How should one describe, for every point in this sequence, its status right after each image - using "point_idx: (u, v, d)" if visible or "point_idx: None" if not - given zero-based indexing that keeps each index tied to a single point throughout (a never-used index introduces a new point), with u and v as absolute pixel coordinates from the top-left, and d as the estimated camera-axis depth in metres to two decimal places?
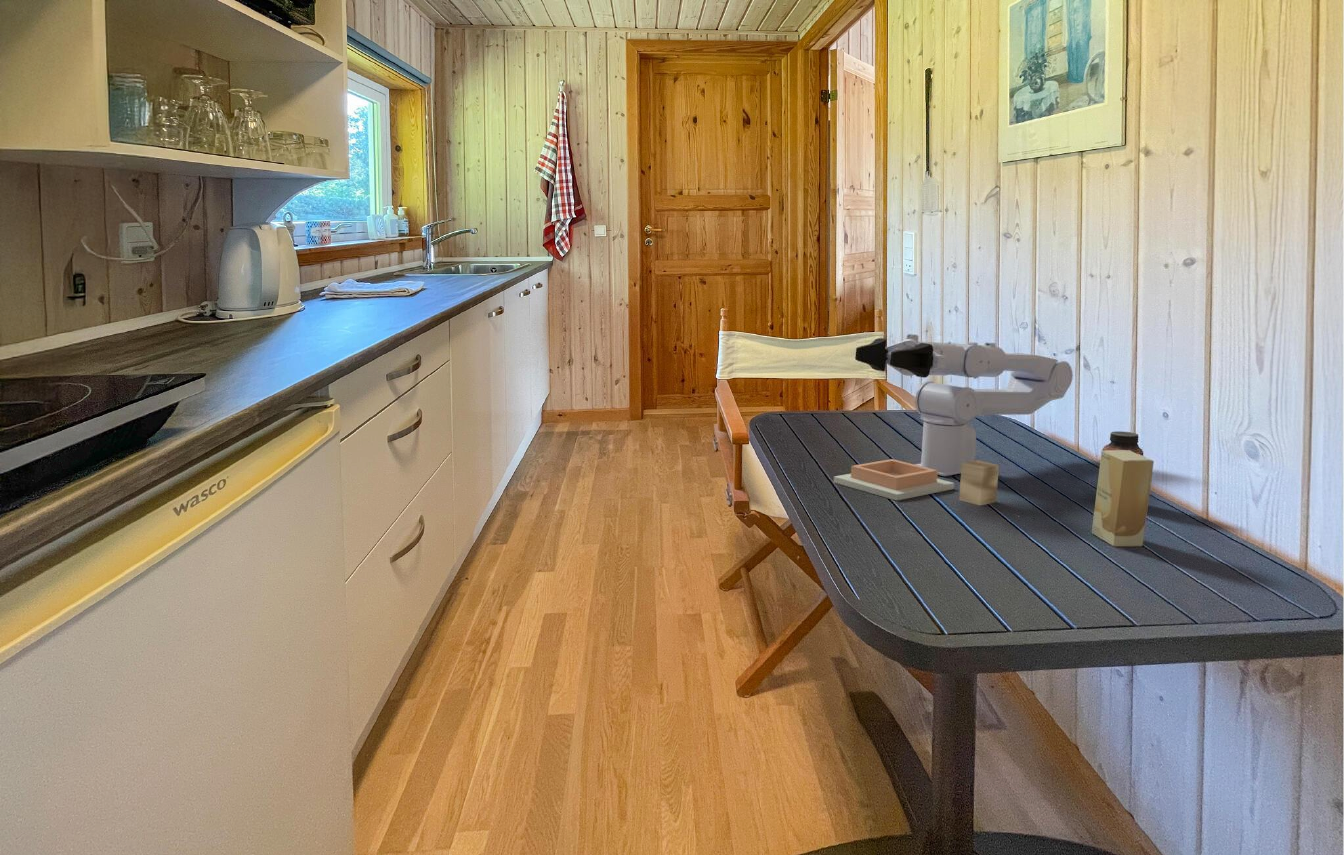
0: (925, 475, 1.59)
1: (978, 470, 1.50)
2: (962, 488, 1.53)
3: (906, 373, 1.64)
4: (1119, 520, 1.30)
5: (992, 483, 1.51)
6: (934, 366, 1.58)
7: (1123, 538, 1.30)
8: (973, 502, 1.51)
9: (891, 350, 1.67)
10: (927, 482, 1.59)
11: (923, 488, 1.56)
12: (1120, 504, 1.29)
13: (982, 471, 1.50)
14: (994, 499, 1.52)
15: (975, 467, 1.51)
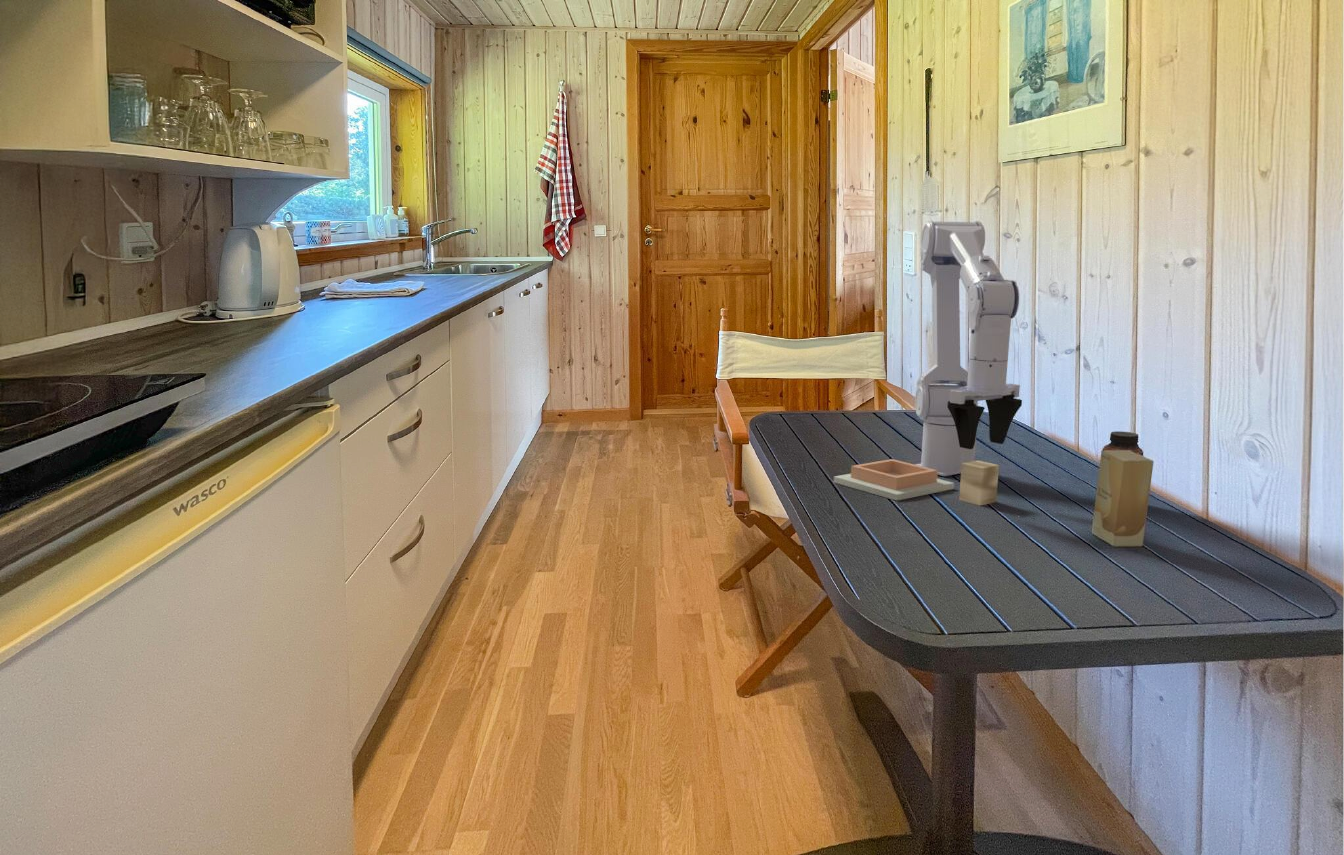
0: (925, 475, 1.59)
1: (978, 470, 1.50)
2: (962, 488, 1.53)
3: None
4: (1119, 520, 1.30)
5: (992, 483, 1.51)
6: None
7: (1123, 538, 1.30)
8: (973, 502, 1.51)
9: None
10: (927, 482, 1.59)
11: (923, 488, 1.56)
12: (1120, 504, 1.29)
13: (982, 471, 1.50)
14: (994, 499, 1.52)
15: (975, 467, 1.51)
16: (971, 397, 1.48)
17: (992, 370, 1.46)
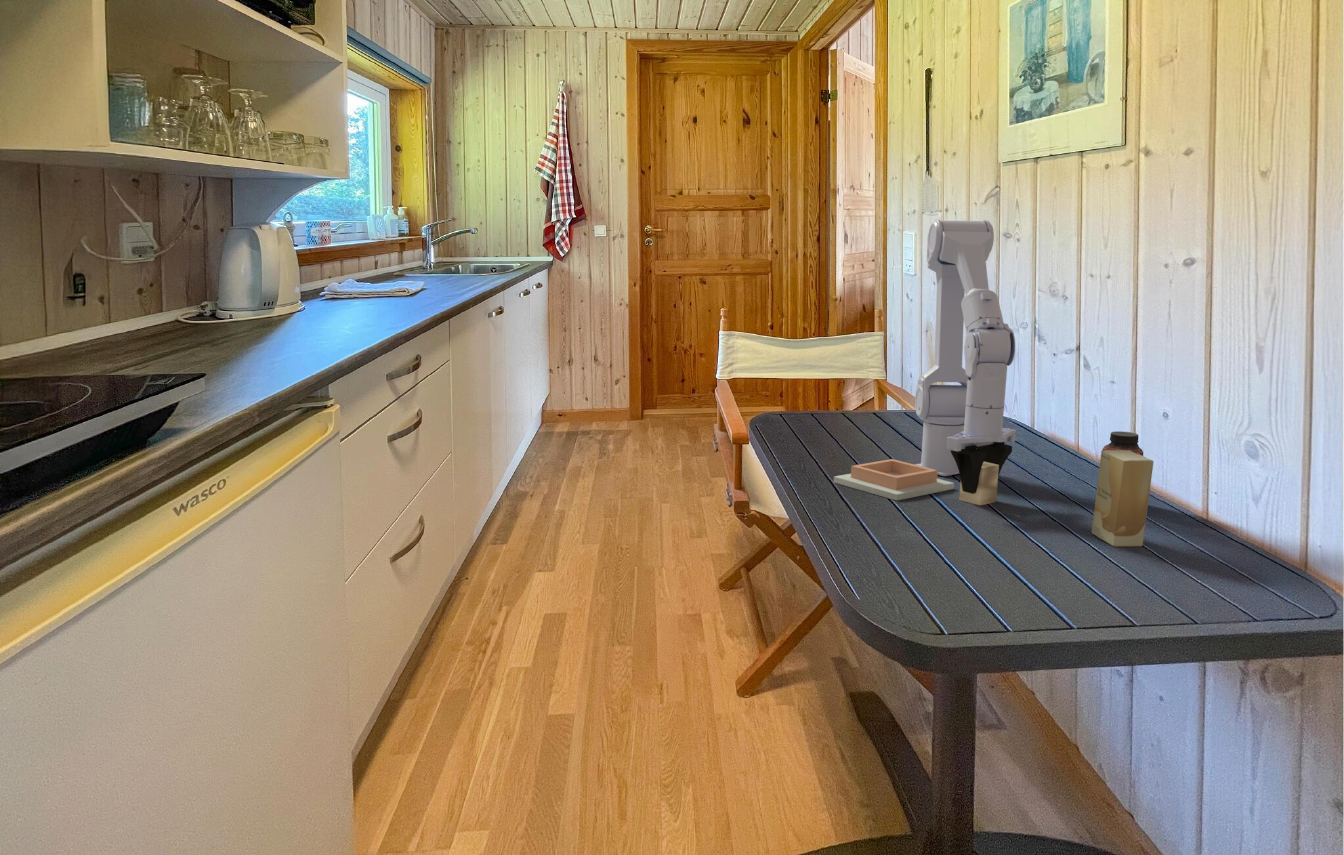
0: (925, 475, 1.59)
1: None
2: None
3: None
4: (1119, 520, 1.30)
5: (992, 483, 1.51)
6: None
7: (1123, 538, 1.30)
8: (973, 502, 1.51)
9: None
10: (927, 482, 1.59)
11: (923, 488, 1.56)
12: (1120, 504, 1.29)
13: (982, 471, 1.49)
14: (994, 499, 1.52)
15: None
16: (968, 443, 1.49)
17: (988, 417, 1.48)
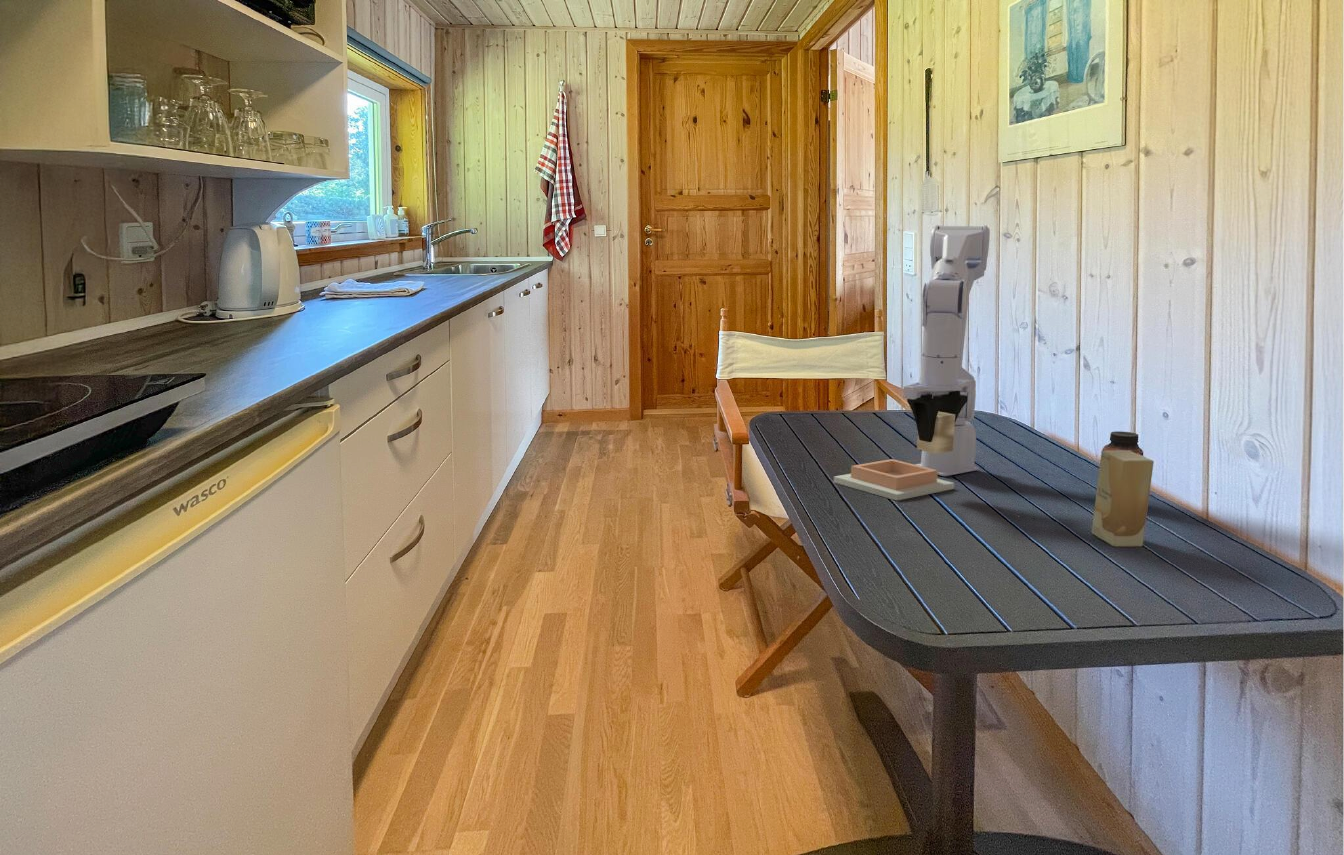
0: (925, 475, 1.59)
1: None
2: None
3: None
4: (1119, 520, 1.30)
5: (948, 432, 1.55)
6: None
7: (1123, 538, 1.30)
8: (930, 451, 1.55)
9: None
10: (927, 482, 1.59)
11: (923, 488, 1.56)
12: (1120, 504, 1.29)
13: (938, 419, 1.53)
14: (951, 448, 1.56)
15: None
16: (923, 392, 1.52)
17: (943, 367, 1.51)
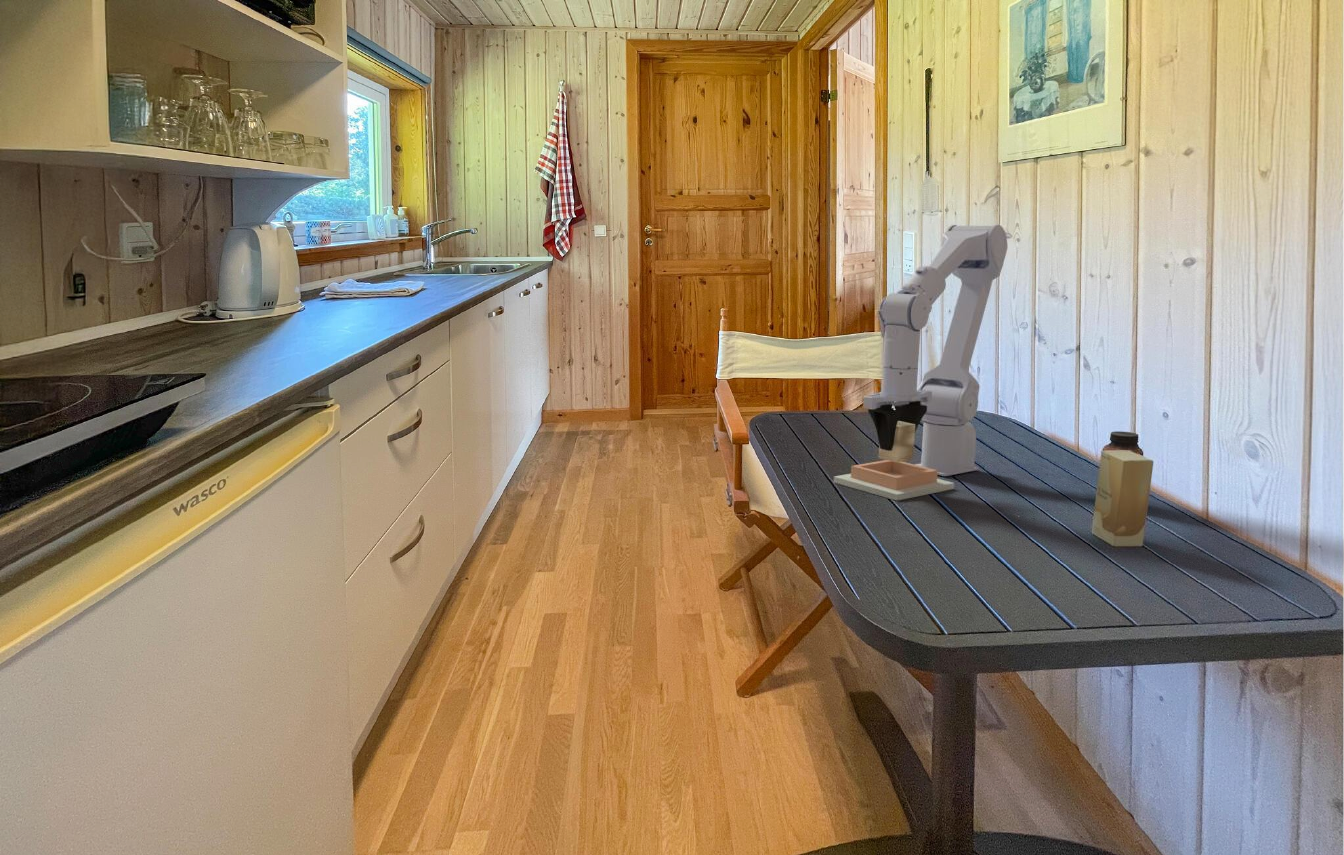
0: (925, 475, 1.59)
1: None
2: None
3: None
4: (1119, 520, 1.30)
5: (909, 441, 1.59)
6: None
7: (1123, 538, 1.30)
8: (891, 459, 1.59)
9: None
10: (927, 482, 1.59)
11: (923, 488, 1.56)
12: (1120, 504, 1.29)
13: (898, 429, 1.57)
14: (911, 457, 1.60)
15: None
16: (883, 403, 1.57)
17: (902, 378, 1.56)
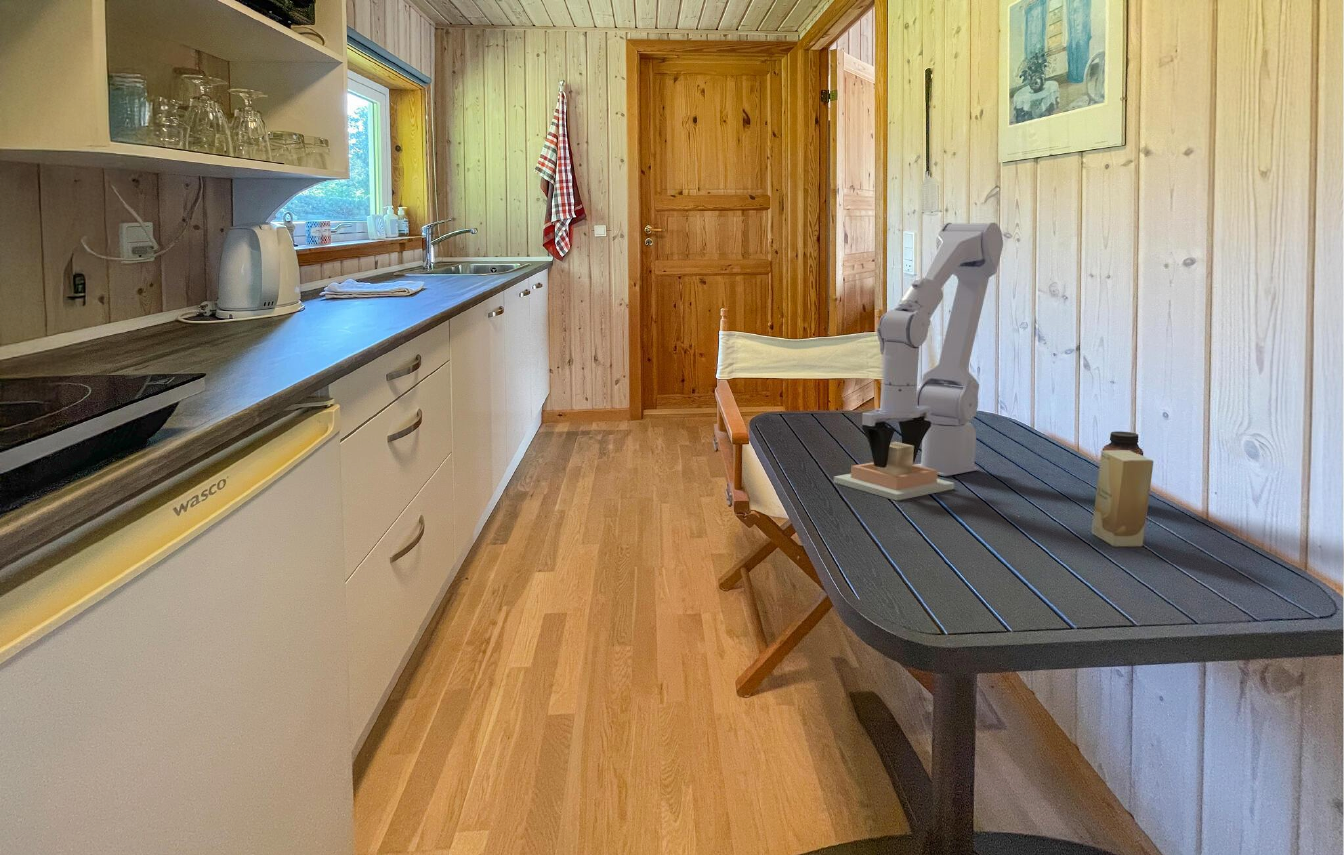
0: (925, 475, 1.59)
1: (893, 450, 1.59)
2: (880, 467, 1.61)
3: None
4: (1119, 520, 1.30)
5: (907, 463, 1.60)
6: None
7: (1123, 538, 1.30)
8: None
9: None
10: (927, 482, 1.59)
11: (923, 488, 1.56)
12: (1120, 504, 1.29)
13: (897, 451, 1.58)
14: None
15: (891, 447, 1.59)
16: (882, 419, 1.58)
17: (901, 394, 1.56)
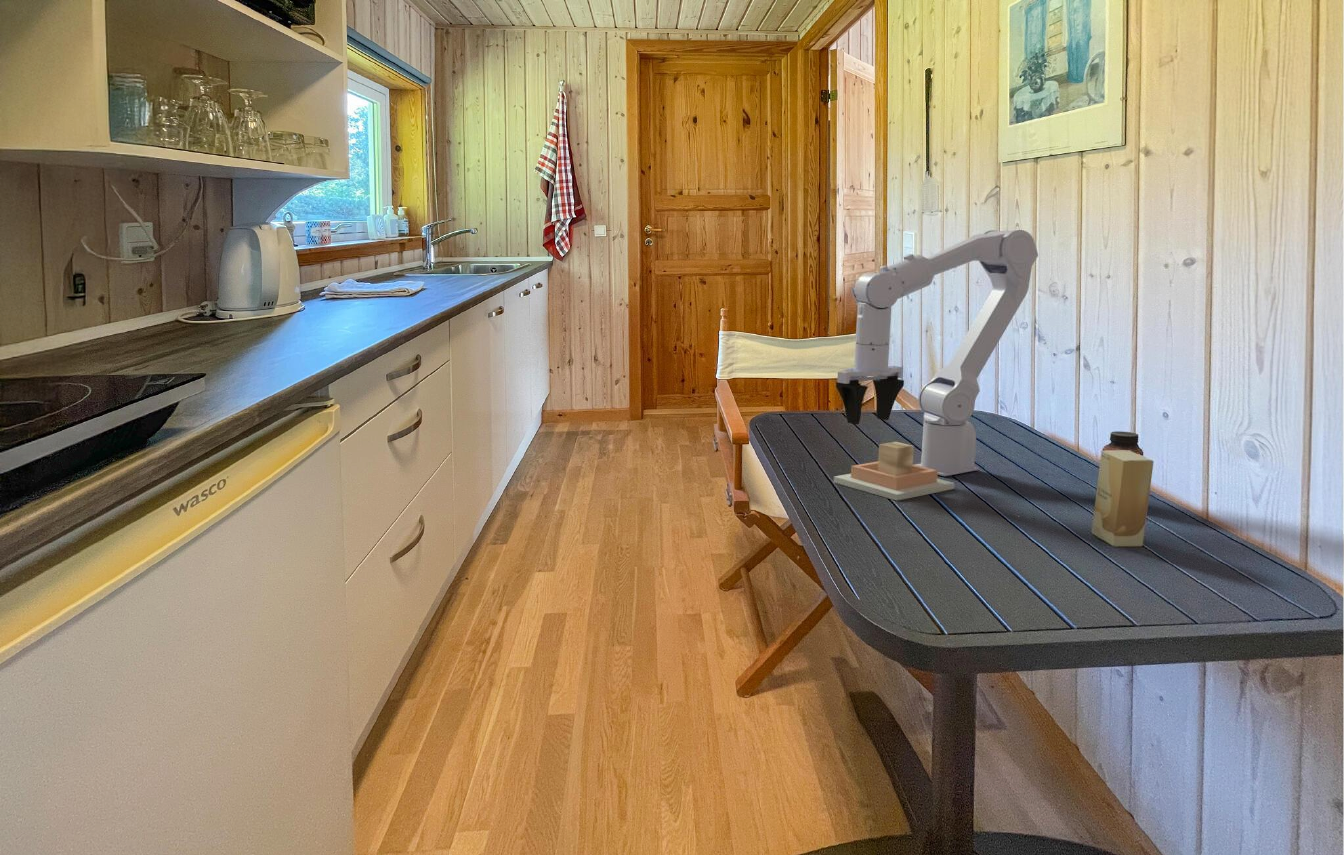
0: (925, 475, 1.59)
1: (893, 450, 1.59)
2: (880, 467, 1.61)
3: None
4: (1119, 520, 1.30)
5: (907, 463, 1.60)
6: None
7: (1123, 538, 1.30)
8: None
9: None
10: (927, 482, 1.59)
11: (923, 488, 1.56)
12: (1120, 504, 1.29)
13: (897, 451, 1.58)
14: None
15: (891, 447, 1.59)
16: (856, 377, 1.64)
17: (874, 353, 1.63)
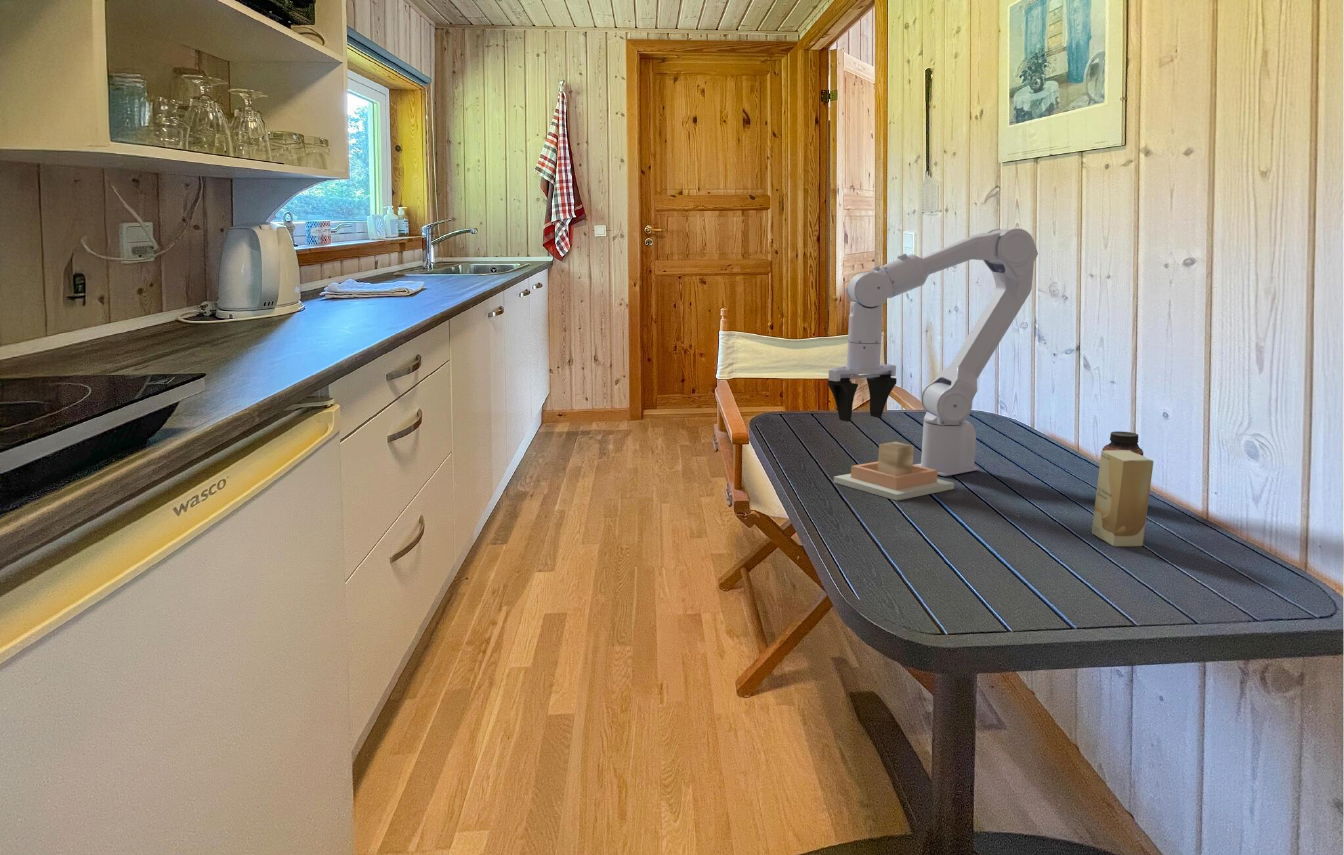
0: (925, 475, 1.59)
1: (893, 450, 1.59)
2: (880, 467, 1.61)
3: None
4: (1119, 520, 1.30)
5: (907, 463, 1.60)
6: None
7: (1123, 538, 1.30)
8: None
9: None
10: (927, 482, 1.59)
11: (923, 488, 1.56)
12: (1120, 504, 1.29)
13: (897, 451, 1.58)
14: None
15: (891, 447, 1.59)
16: (848, 375, 1.67)
17: (865, 352, 1.66)
